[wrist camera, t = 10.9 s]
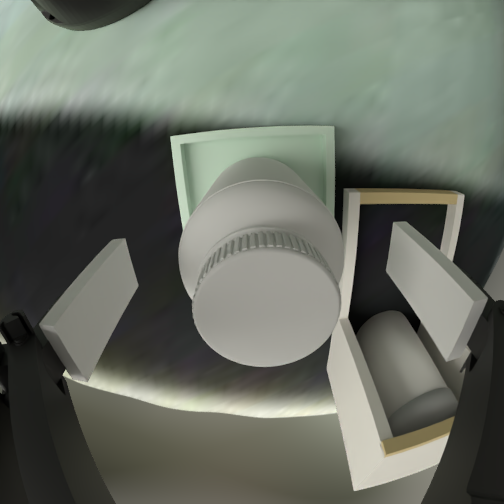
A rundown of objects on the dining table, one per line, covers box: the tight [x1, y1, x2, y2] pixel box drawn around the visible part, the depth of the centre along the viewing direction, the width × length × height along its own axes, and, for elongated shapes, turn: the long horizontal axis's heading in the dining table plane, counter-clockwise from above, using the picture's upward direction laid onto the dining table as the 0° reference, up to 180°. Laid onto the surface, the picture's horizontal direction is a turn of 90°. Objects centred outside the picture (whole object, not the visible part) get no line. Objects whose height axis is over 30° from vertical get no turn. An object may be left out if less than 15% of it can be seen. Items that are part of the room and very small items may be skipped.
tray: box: [170, 126, 335, 230], centre depth 23 cm, size 12×12×2 cm
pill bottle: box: [179, 157, 344, 367], centre depth 16 cm, size 8×8×15 cm
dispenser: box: [327, 188, 471, 491], centre depth 20 cm, size 22×13×17 cm, turn 4°
